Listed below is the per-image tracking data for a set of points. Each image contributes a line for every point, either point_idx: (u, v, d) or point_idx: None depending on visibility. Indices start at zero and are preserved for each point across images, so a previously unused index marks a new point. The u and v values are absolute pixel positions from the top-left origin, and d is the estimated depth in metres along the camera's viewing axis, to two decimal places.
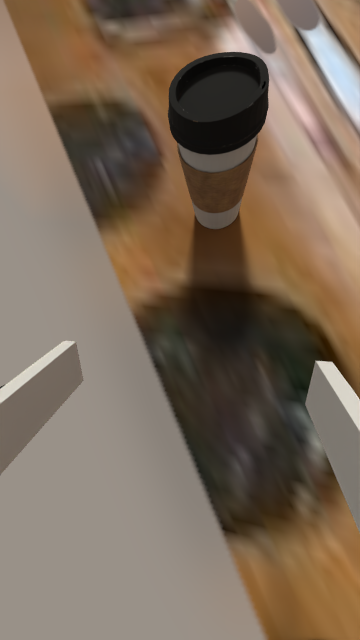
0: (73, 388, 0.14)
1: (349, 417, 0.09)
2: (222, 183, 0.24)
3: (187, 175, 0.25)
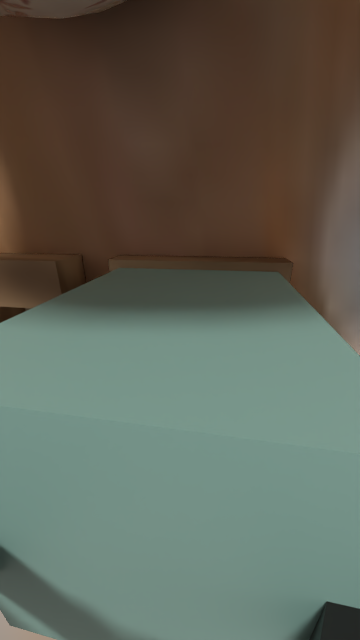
0: None
1: None
2: None
3: None
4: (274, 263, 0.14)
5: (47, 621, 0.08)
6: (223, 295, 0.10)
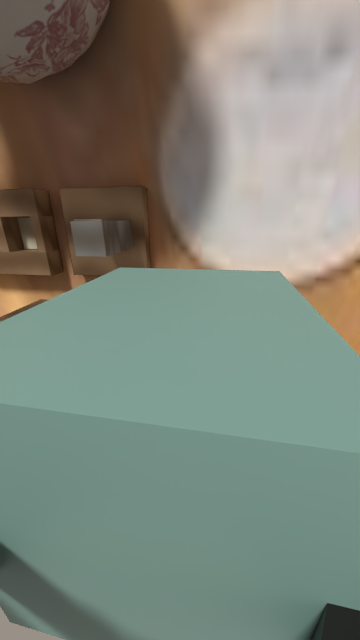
0: None
1: None
2: None
3: None
4: (134, 186, 0.30)
5: (46, 618, 0.08)
6: (223, 294, 0.10)
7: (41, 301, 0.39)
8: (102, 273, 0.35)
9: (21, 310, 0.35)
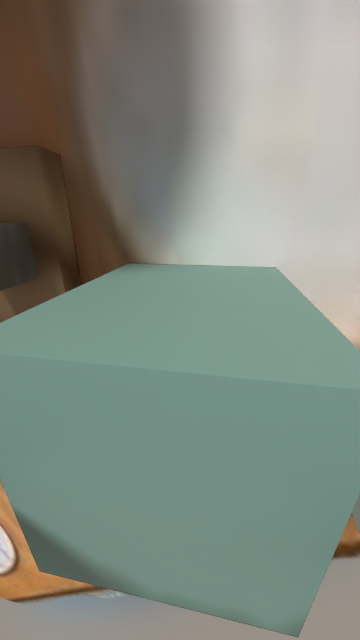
0: None
1: None
2: None
3: None
4: (21, 148, 0.13)
5: (74, 563, 0.09)
6: (226, 286, 0.11)
7: None
8: None
9: None
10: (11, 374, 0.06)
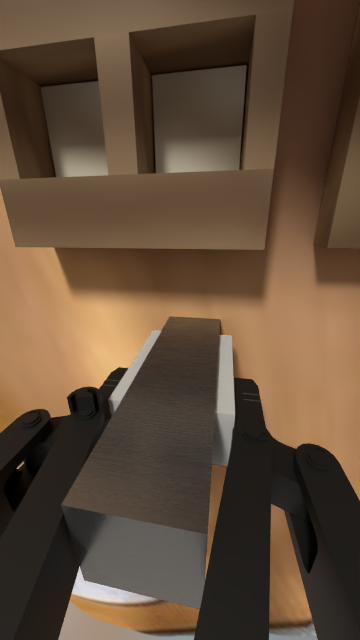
0: None
1: None
2: None
3: None
4: None
5: None
6: None
7: (180, 323, 0.16)
8: None
9: (165, 357, 0.12)
10: None
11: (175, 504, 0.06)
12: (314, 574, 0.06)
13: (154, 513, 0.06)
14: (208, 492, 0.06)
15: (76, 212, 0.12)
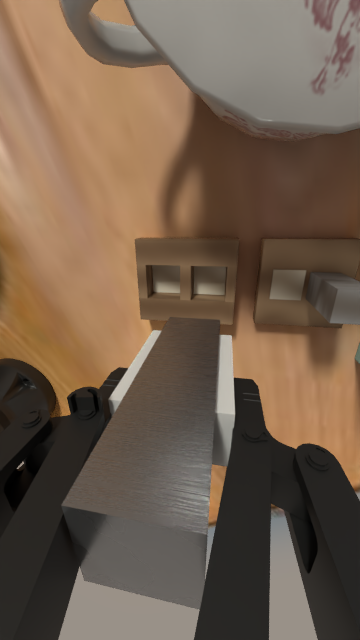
0: None
1: None
2: None
3: None
4: (355, 240, 0.28)
5: None
6: None
7: (180, 323, 0.16)
8: (289, 323, 0.33)
9: (165, 357, 0.12)
10: None
11: (175, 503, 0.06)
12: (314, 573, 0.06)
13: (154, 514, 0.06)
14: (208, 492, 0.06)
15: (166, 309, 0.34)
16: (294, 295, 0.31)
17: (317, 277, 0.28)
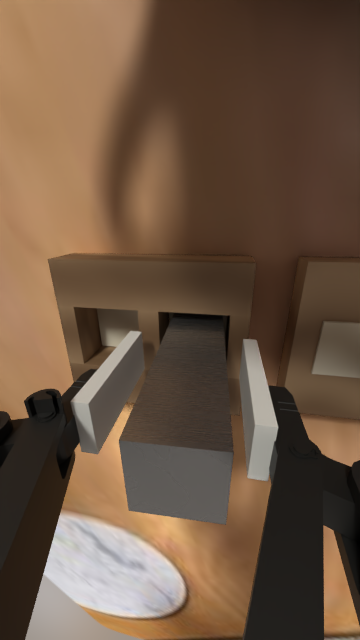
0: (139, 375, 0.15)
1: (248, 377, 0.11)
2: None
3: None
4: None
5: None
6: None
7: None
8: (346, 415, 0.17)
9: (179, 339, 0.13)
10: None
11: (206, 436, 0.07)
12: None
13: (192, 442, 0.07)
14: (230, 428, 0.08)
15: None
16: None
17: None
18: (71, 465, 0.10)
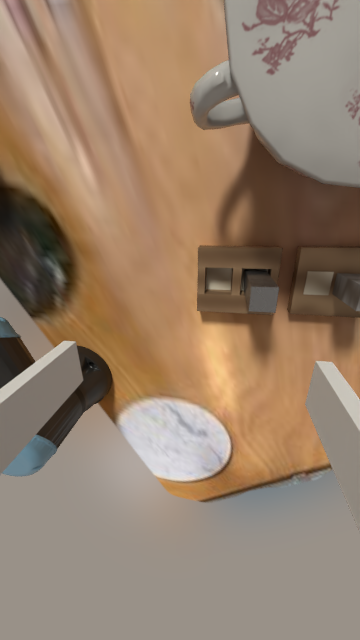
0: (73, 388, 0.14)
1: (349, 417, 0.09)
2: None
3: None
4: None
5: None
6: None
7: (250, 270, 0.41)
8: (318, 313, 0.41)
9: (253, 275, 0.37)
10: None
11: (272, 286, 0.31)
12: None
13: (268, 286, 0.31)
14: (277, 285, 0.32)
15: (219, 303, 0.43)
16: (323, 291, 0.40)
17: (343, 277, 0.36)
18: None
